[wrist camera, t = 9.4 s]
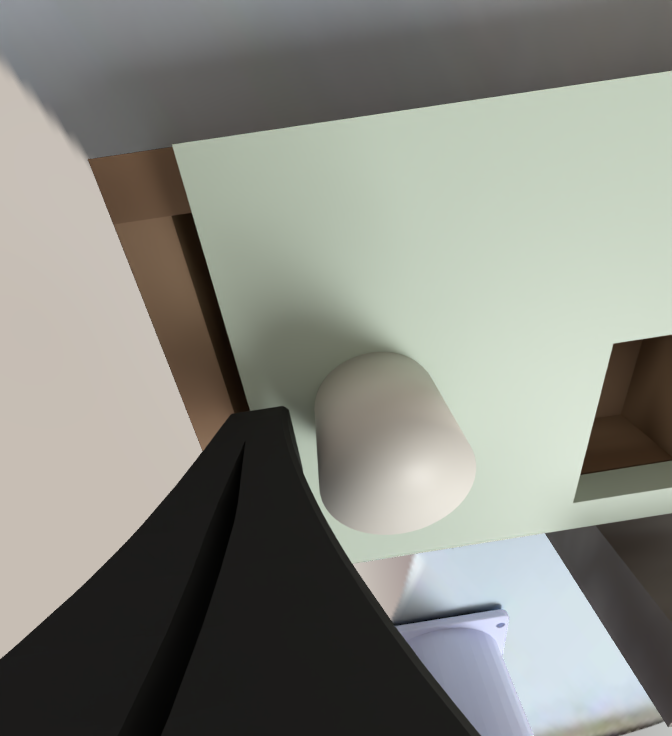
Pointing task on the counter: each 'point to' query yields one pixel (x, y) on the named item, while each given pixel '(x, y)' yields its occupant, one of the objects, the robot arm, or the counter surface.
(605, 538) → the block
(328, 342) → the lid
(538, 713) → the counter surface
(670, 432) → the brown box
